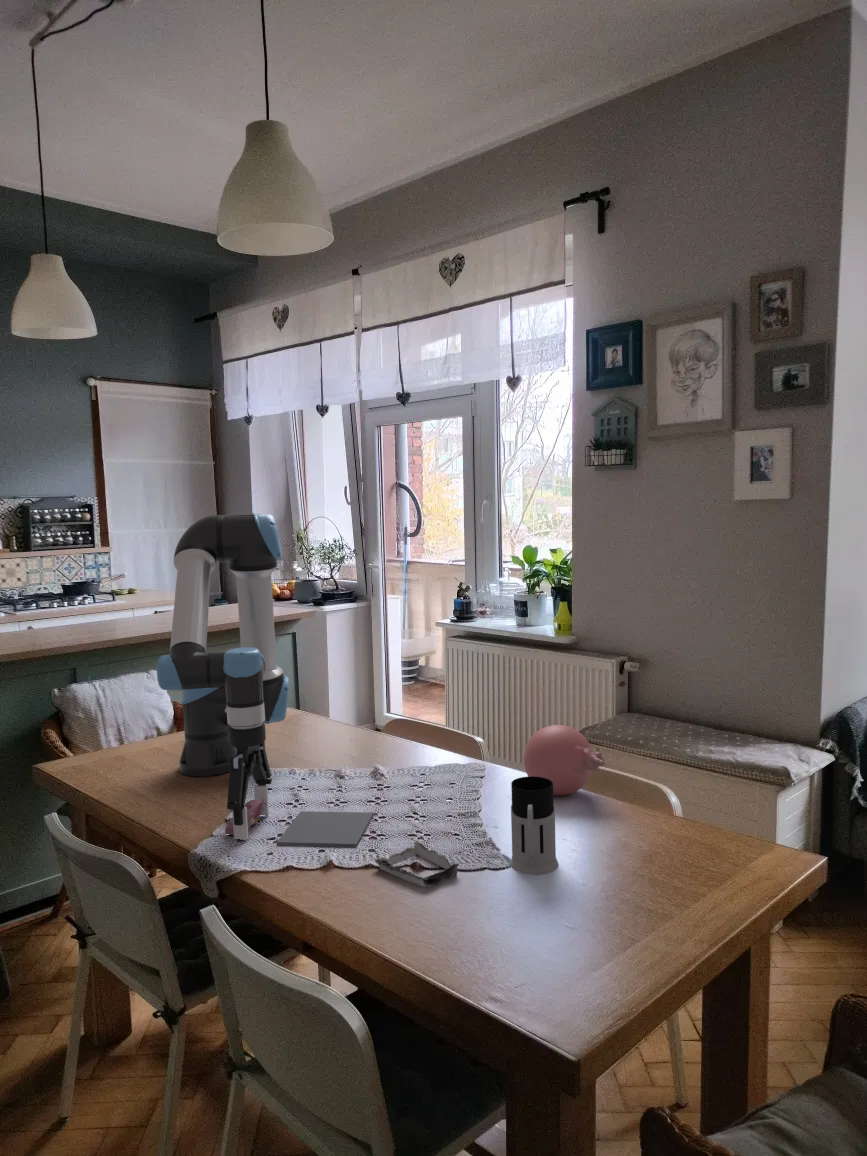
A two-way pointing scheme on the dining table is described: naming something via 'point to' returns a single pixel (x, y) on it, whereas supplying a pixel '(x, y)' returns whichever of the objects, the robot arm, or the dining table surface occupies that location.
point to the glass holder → (533, 826)
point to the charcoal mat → (326, 829)
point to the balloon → (561, 758)
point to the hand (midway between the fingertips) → (252, 826)
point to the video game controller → (250, 814)
